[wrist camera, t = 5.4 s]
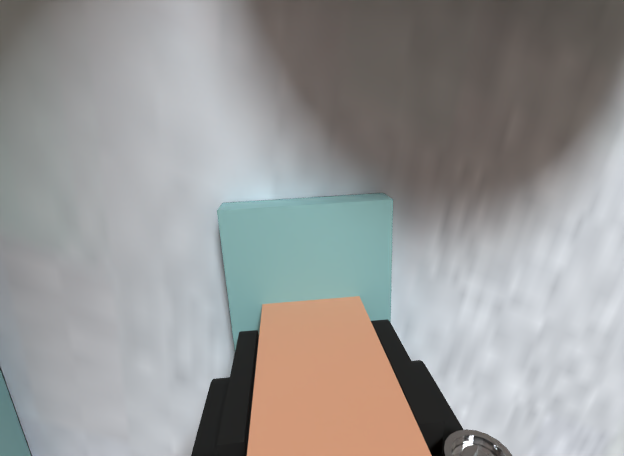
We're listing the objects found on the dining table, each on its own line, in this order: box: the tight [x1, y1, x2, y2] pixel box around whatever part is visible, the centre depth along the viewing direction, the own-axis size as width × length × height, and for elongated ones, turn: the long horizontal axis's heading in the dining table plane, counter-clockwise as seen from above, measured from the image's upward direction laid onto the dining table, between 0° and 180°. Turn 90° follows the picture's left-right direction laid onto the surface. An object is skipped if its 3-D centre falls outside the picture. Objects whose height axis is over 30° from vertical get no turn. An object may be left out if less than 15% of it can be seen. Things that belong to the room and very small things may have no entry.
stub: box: [217, 193, 432, 456], centre depth 9 cm, size 10×5×7 cm, turn 2°
